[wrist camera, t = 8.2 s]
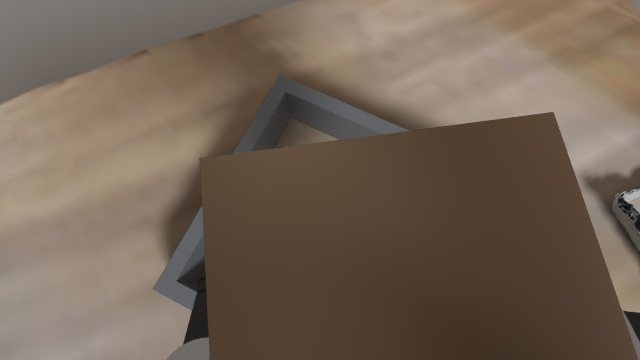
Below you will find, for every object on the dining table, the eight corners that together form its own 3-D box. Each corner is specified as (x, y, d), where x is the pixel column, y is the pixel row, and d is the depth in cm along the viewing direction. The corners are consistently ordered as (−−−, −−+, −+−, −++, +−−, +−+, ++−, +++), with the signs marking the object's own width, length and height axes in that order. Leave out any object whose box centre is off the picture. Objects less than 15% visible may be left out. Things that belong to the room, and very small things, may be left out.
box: (177, 290, 27) (152, 289, 23) (285, 102, 31) (279, 74, 27) (391, 406, 25) (403, 426, 21) (477, 187, 29) (501, 170, 25)
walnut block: (296, 385, 14) (223, 623, 4) (281, 250, 16) (199, 158, 5) (428, 366, 15) (701, 542, 4) (402, 234, 16) (553, 112, 6)
